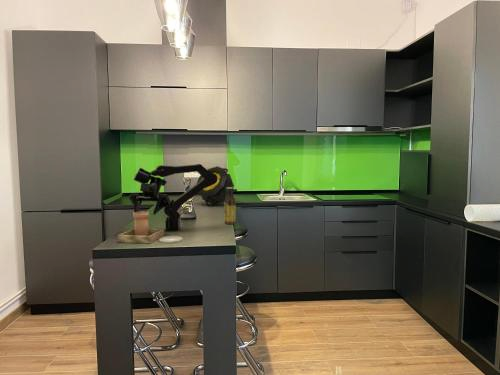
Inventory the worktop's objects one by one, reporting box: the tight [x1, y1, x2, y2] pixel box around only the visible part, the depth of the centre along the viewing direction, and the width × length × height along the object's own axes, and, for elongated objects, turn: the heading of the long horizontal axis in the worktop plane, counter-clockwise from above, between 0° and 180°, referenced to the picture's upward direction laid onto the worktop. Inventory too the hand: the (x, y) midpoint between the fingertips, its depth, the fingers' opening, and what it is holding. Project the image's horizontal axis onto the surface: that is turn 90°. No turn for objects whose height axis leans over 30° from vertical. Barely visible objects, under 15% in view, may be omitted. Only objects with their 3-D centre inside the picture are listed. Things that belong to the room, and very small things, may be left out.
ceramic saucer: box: [158, 235, 183, 244], centre depth 158 cm, size 10×10×1 cm
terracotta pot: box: [132, 210, 150, 236], centre depth 161 cm, size 7×7×12 cm
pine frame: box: [117, 228, 165, 244], centre depth 161 cm, size 15×15×3 cm
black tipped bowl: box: [195, 165, 238, 207], centre depth 270 cm, size 28×28×24 cm
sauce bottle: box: [223, 187, 237, 225], centre depth 196 cm, size 6×6×20 cm
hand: (144, 214), depth 164 cm, fingers open, 9 cm apart
